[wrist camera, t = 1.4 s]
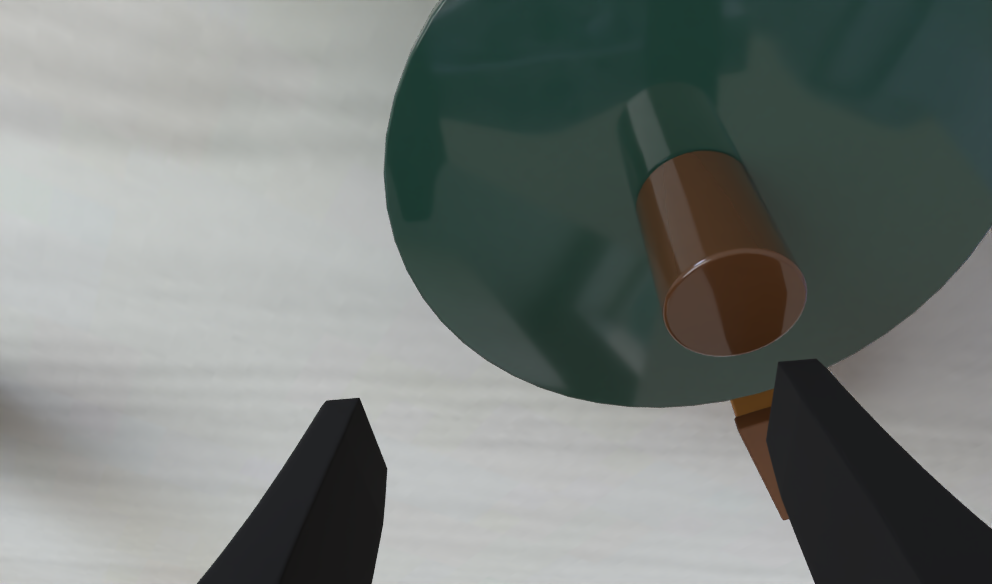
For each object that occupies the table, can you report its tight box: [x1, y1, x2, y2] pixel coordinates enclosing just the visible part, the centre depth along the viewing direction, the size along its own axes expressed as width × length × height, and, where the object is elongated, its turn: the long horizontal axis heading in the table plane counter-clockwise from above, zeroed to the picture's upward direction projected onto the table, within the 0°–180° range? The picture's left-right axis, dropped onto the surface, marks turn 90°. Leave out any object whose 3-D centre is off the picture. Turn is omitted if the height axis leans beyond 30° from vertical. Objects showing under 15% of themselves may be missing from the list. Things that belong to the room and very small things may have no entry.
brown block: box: [730, 389, 789, 520], centre depth 23 cm, size 5×3×6 cm, turn 29°
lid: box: [384, 0, 992, 408], centre depth 14 cm, size 13×13×4 cm
